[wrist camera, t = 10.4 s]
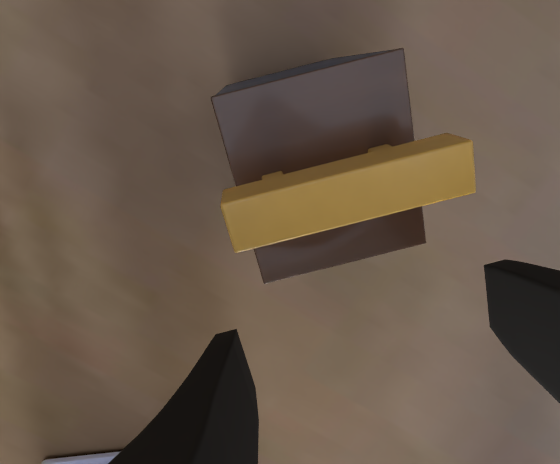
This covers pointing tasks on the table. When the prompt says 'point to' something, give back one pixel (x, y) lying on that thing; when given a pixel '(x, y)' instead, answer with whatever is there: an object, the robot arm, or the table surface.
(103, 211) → the table surface
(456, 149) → the box
